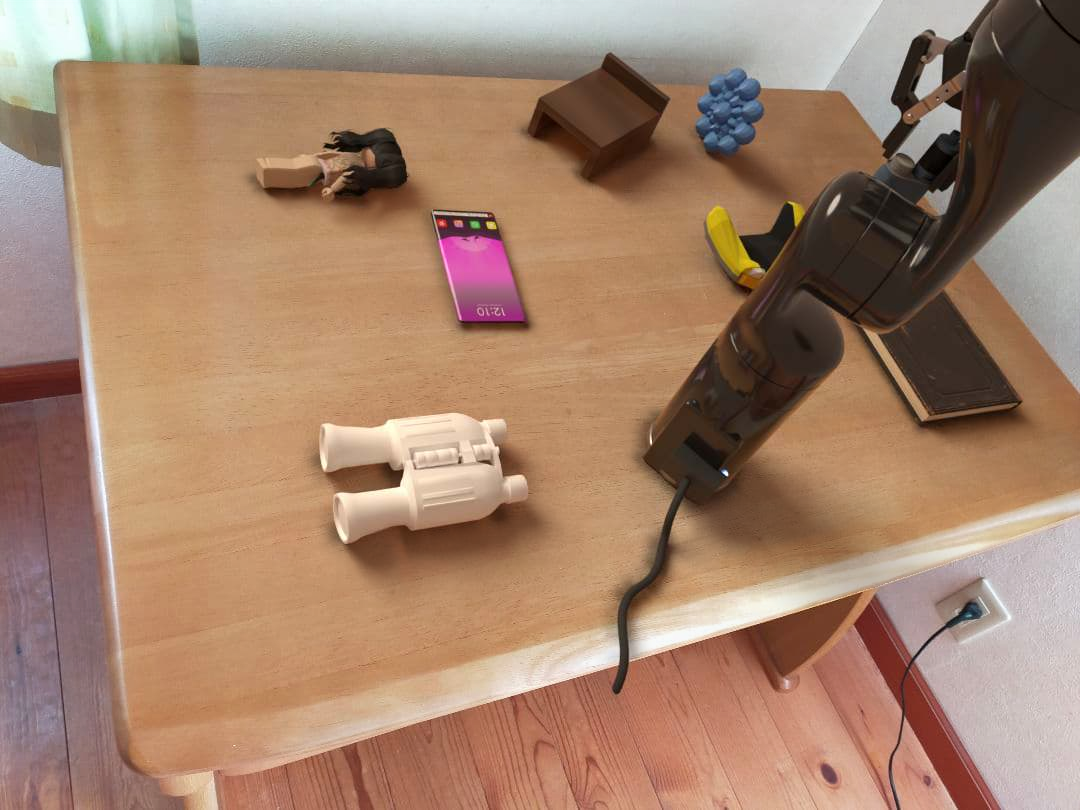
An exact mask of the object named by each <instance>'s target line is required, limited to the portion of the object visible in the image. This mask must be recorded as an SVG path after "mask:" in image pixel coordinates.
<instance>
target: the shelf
mask: <svg viewBox="0 0 1080 810" xmlns="http://www.w3.org/2000/svg"><path fill="white" fill-rule="evenodd" d="M670 101H671V97H669V95H667V94H666V93H664V91H662V90H660V89H659V88H658V87H657V86H656V85H654V84H653V83H651V82H650V81H649V80H648V79H646V78H645V77H643V75H641V74H640V73H638V72H637V71H636V70H635V69H634V68H632V67H630V66H629V65H628V64H627V63H625V62H624V60H622V59H620V58H619V57H618V56H617V55H615V54H614V53H612V52H611V51H610V52H608V53H606V54H605V56H604V58H603V61H602V63H601V66H600V67H599V68H597V69H595V70H592V71H590V72H588V73H587V74H584V75H582V76H580V77H578V78H576V79H574V80H572V81H570V82H568V83H566V84H564V85H562V86H560V87H557V88H555V89H554V90H552V91H549V92H548V93H546V94H544V95H540V96H539V97H538V99H537V102H536V105H535V108H534V111H533V113H532V116H531V118H530V121H529V124H528V127H527V129H526V132H527V133H528V134H530V135H531V136H532V137H536V136H538V135H540V134H542V133H543V132H546V131H548V130H549V129H552V128H553V127H555V126H557V125H559V126H561V127H562V128H563V129H565V130H566V131H567V132H568V133H569V134H571V135H572V136H573V137H574V138H576V139H577V140H578V141H580V142H581V143H582V144H583V145H585V146H586V147H587V148H588V149H589V150H590V152H589V153H588V156H587V158H586V159H585V163H584V165H583V167H582V169H581V171H580V176H581V177H582V178H584V179H585V180H586V181H588V180H590V179H592V178H593V177H595V176H596V175H599V174H600V173H602V172H603V171H605V170H606V169H608V168H609V167H611V166H613V165H615V164H616V163H617V162H619V161H621V160H622V159H624V158H626V157H627V156H629V155H630V154H632V153H633V152H636V151H637V150H638V149H640V148H643V146H645V145H648V144H649V142H650V139H651V137H652V136H653V134H654V132H655V130H656V128H657V126H658V124H659V122H660V120H661V118H662V116H663V115H664V113H665V110H666V108H667V106H668V104H669V102H670Z"/></svg>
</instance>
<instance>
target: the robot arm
mask: <svg viewBox="0 0 1080 810" xmlns="http://www.w3.org/2000/svg"><path fill="white" fill-rule="evenodd" d="M940 55H942V65H941V67H942V68H941V84H940V85H939V86H937V87H936V88H935V89H933V90H932V91H931V92H929V93H928V94H927V95H925V96H924V97H922V98H921V99H919V98H918V96H917V95H916V93H915V92H916V90H917V87H918V85H919V82H920V80H921V77H922V74H923V72H924V69H925V67H926V65H929V64H931V63H932V62H933V61H935V60H936V59H937V56H940ZM890 102H891V104H892V105H894V106H895V107H897V108H898V110H899V112H900V118H899V120H898V121H897V123H896V124H895V126H894V127H892V129H891V130H890V132H889V133H888V135H887V136H886V137H885V139H884V140H883V141H882V145H881V148H882V149H884V150H885V151H884V152H883V153H882V155H881V156H882V157H883V158H884V159H886V160H887V161H888V160H890V159H892V158H893V157H894V156H895V155H896V154H897V153H898V151H899V150H900V148H902V146H903V145H904V143H906V141H907V140H908V138H909V137H910V136H911V134H913V132H914V131H915V129H916V128H917V127H918V126H919V124H920V123H921V122H922V121H921V118H923V117H924V116H926V115H927V114H929V113H930V112H932V111H933V110H935V109H937V108H938V107H939V106H941V105H942V104H943V103H944V104H945V105H947V106H948V107H950V108H952V109H955V110H956V111H957V110H958V111H960V125H959V126H960V128H959V129H960V141H959V142H960V152H959V153H958V154H957V155H956V156H955V157H954V158H953V159H952V160H951V161H950V162H949V163H948V165H947V166H946V167H945V168H944V169H943V170H942V172H941V173H940V174H939V175H938V176H937V177H936V179H935V180H934V181H933V182H932V183H931V184H930V186H929V187H928V188H927V190H928V191H929V193H931V194H934V193H936V191H937V190H938V191H940V192H941V193H943V192H945V191H947V190H948V189H949V188H950V187H951V186H952V185H953V189H952V192H951V195H950V198H949V202H948V206H947V208H946V210H945V213H943V214H940V215H934V214H931V213H930V212H928V211H926V209H924V208H923V207H922V206H919V205H918V204H917V203H916V204H915V203H913V202H912V201H910V200H909V199H907V198H905V197H904V196H902V195H901V194H899V193H898V192H896V191H894V190H893V189H891V188H889V187H888V186H887V185H885V184H883V183H882V182H880V181H879V180H877V179H875V178H874V177H872V176H873V175H870V174H869V173H867V172H865V171H862V170H860V169H849V170H846V171H844V172H841V174H839V175H837V176H835V178H833V179H832V180H831V181H830V182H829V183H828V184H827V185H826V186H825V187H824V188H823V189H822V190H821V192H820V193H819V194H818V195H817V197H816V198H815V199H814V200H813V201H812V203H811V204H810V206H809V207H808V208H807V210H806V211H805V214H804V216H803V217H802V219H801V220H800V222H799V224H798V225H797V227H796V228H795V230H794V231H793V233H792V234H791V236H790V237H789V239H788V240H787V242H786V244H785V245H784V247H783V248H782V250H781V251H780V253H779V254H778V256H777V258H776V259H775V261H774V262H773V264H772V265H771V267H770V268H769V270H768V271H767V272H766V274H765V275H764V276H763V278H762V279H761V281H760V282H759V283H758V284H757V286H756V287H755V288H754V290H753V289H752V291H751V292H750V294H748V296H747V297H746V299H745V300H744V301H743V302H742V303H741V305H740V306H739V307H738V308H737V310H736V311H735V313H734V314H733V316H732V317H731V318H730V320H729V321H728V323H727V324H726V325H725V327H724V328H723V329H722V330H721V332H720V333H719V334H718V336H716V338H715V340H714V341H713V342H712V343H711V345H710V346H709V347H708V349H707V350H706V352H705V353H704V354H703V356H702V357H701V358H700V360H699V361H698V362H697V364H696V365H695V366H694V368H693V369H692V370H691V372H690V373H689V374H688V376H687V377H686V378H685V380H684V381H683V382H682V384H681V385H680V386H679V388H678V389H677V391H675V393H674V394H673V395H672V397H671V398H670V400H669V401H668V403H667V404H666V406H665V407H664V408H663V409H662V411H661V412H660V413H659V414H658V415H657V416H656V417H655V419H654V420H653V421H652V423H651V424H650V425H649V427H648V429H647V432H646V440H645V442H646V443H645V444H646V445H645V446H646V450H645V452H644V454H643V455H642V459H643V460H644V461H645V462H646V463H647V464H648V465H650V466H651V468H653V469H654V470H655V471H657V472H658V474H660V475H661V476H662V477H663V478H664V479H665V480H666V481H667V482H668V483H670V484H671V485H673V487H675V489H677V490H676V492H675V494H674V496H673V498H672V501H671V502H670V504H669V507H668V509H667V512H666V515H665V518H664V521H663V523H662V524H663V525H662V528H661V532H660V537H659V541H658V544H657V549H656V554H655V558H654V562H653V564H652V567H651V569H650V571H649V572H648V574H647V575H646V576H645V577H644V578H642V579H641V580H640V581H638V582H637V583H635V584H633V585H631V586H630V587H629V589H627V590H626V592H625V593H624V595H623V596H622V598H621V600H620V603H619V606H618V611H617V635H618V644H619V661H618V669H617V672H616V675H615V679H614V681H613V683H612V686H611V692H612V693H613V694H615V695H619V694H620V693H621V691H622V689H623V687H624V684H625V682H626V679H627V676H628V671H629V663H630V645H629V644H630V643H629V636H628V635H629V633H628V624H627V623H628V613H629V608H630V605H631V603H632V601H633V599H634V598H635V597H636V596H637V595H638V594H639V593H641V592H643V591H644V590H645V589H647V588H648V587H650V586H651V585H653V583H654V582H655V581H656V580H657V579H658V577H659V575H660V573H661V571H662V569H663V566H664V562H665V557H666V552H667V548H668V544H669V540H670V535H671V532H672V529H673V528H672V527H673V524H674V522H675V518H676V516H677V514H678V510H679V508H680V506H681V504H682V502H683V499H684V498H685V497H686V498H688V500H690V501H691V500H696V501H697V502H698V503H699V504H700V505H702V506H703V505H704V504H705V503H706V502H707V501H708V500H709V499H711V497H712V496H713V495H714V494H716V493H718V492H720V491H722V490H724V488H726V487H727V486H728V485H729V484H730V482H732V480H733V479H734V478H735V476H736V475H737V473H739V471H741V469H742V468H743V467H744V466H746V464H747V463H748V462H749V461H750V460H751V459H752V458H753V457H754V456H755V455H756V453H758V451H759V450H760V449H761V448H762V447H763V446H764V445H766V443H767V442H769V440H770V439H771V438H772V437H773V436H774V434H776V433H777V432H778V430H780V428H781V427H782V426H783V425H784V424H785V423H786V422H787V421H788V420H789V419H790V418H791V417H792V415H793V414H795V412H797V410H798V409H800V407H801V406H802V405H803V404H804V403H805V402H806V401H807V400H808V399H809V398H810V397H811V396H812V395H813V394H814V393H815V392H816V391H817V390H818V389H819V387H821V386H822V384H824V383H825V381H827V379H828V378H829V377H830V376H831V375H832V374H833V373H834V372H835V370H836V369H837V368H838V367H839V365H841V361H842V360H843V357H844V354H845V338H844V334H843V331H842V328H841V325H840V323H839V321H838V319H837V318H836V316H835V315H834V313H833V312H832V311H831V309H832V310H833V311H834V312H836V313H838V314H839V315H841V316H842V317H844V318H846V319H847V320H848V321H850V322H851V323H853V324H854V325H855V324H856V325H858V326H860V327H862V328H864V329H866V330H868V331H871V332H874V333H878V334H885V333H889V332H892V331H894V330H897V329H898V328H900V327H902V326H903V325H905V324H906V323H908V322H909V321H910V320H912V319H913V318H914V317H915V316H916V315H918V314H919V313H920V312H921V311H922V310H923V309H924V308H925V307H926V306H927V305H928V304H929V303H930V302H931V301H932V300H933V299H934V298H935V297H936V296H937V295H938V294H939V293H940V292H941V291H942V290H943V289H944V290H945V288H946V287H947V286H948V285H949V284H950V283H951V282H952V281H953V280H954V279H955V278H956V277H957V276H958V275H959V273H961V271H962V270H963V269H964V268H965V267H967V265H968V264H969V263H970V262H971V261H972V260H973V259H974V258H975V257H976V256H977V255H978V254H979V253H980V252H981V251H982V250H983V248H984V247H985V246H986V245H988V243H989V242H990V241H991V240H992V239H993V238H994V237H995V236H996V235H997V234H998V233H999V232H1000V231H1001V230H1002V229H1003V228H1004V227H1005V226H1006V225H1007V223H1009V222H1010V220H1011V219H1012V218H1014V216H1016V215H1017V214H1018V213H1019V212H1020V211H1021V210H1022V209H1023V208H1024V207H1025V206H1026V205H1027V204H1028V203H1029V202H1030V201H1032V200H1033V199H1034V198H1035V197H1036V196H1037V195H1038V194H1039V193H1041V192H1042V190H1044V189H1045V188H1046V187H1047V186H1048V185H1049V184H1051V182H1053V181H1054V180H1055V179H1056V178H1057V177H1058V176H1060V175H1061V174H1062V173H1063V172H1064V171H1065V170H1066V169H1067V168H1069V167H1070V166H1071V165H1072V164H1073V163H1074V162H1075V161H1077V159H1079V158H1080V0H988V1H987V3H986V4H985V5H984V7H983V8H982V9H981V11H980V12H979V13H978V14H977V15H976V17H975V18H974V20H973V21H972V22H971V23H970V25H969V26H968V27H967V29H966V30H965V31H964V32H963V34H961V35H959V36H956V37H955V38H953V39H952V40H949V39H946V38H943V37H939V36H937V33H936V32H935V31H934V30H933V29H925V30H924V31H922V32H921V33H920V34H918V35H917V36H915V37H914V38H913V39H911V43H910V46H909V47H908V50H907V53H906V56H905V59H904V61H903V64H902V66H901V70H900V71H899V74H898V77H897V80H896V83H895V86H894V89H893V91H892V94H891V97H890ZM928 191H927V192H928ZM856 325H855V326H856Z"/></svg>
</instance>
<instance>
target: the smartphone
mask: <svg viewBox="0 0 1080 810" xmlns="http://www.w3.org/2000/svg"><path fill="white" fill-rule="evenodd" d="M430 217H431V221H432V224H433V229H434V232H435V236H436V240H437V244H438V247H439V251H440V256H441V259H442V263H443V267H444V270H445V274H446V278H447V282H448V286H449V289H450V293H451V297H452V302H453V305H454V309H455V312H456V316H457V320H458V322H459V323H460V324H525V323H526V322H527V316H526V314H525V311H524V307H523V304H522V301H521V298H520V294H519V291H518V287H517V284H516V281H515V278H514V274H513V271H512V269H511V265H510V262H509V258H508V256H507V255H508V254H507V253H506V248H505V246H504V243H503V239H502V235H501V233H500V230H499V229H500V228H499V226H498V223H497V220H496V216H495V214H494V213H493V212H492V211H474V210H473V211H472V210H455V209H454V210H453V209H432V210H431V211H430Z"/></svg>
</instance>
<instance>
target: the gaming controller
mask: <svg viewBox="0 0 1080 810" xmlns="http://www.w3.org/2000/svg"><path fill="white" fill-rule="evenodd" d="M805 213H806V211H805V209H804V207H803V206H802V204H799V203H796V202H793V201H787V202H786V203H784V204H783V205H782V206H781V208H780V209H779V212H778V214H777V216H776V218H775V220H774V221H773V224H772V226H771V228H770V229H769V231H768V232H765V233H758V234H757V233H756V234H755V233H754V234H744V235H739V234H738V232H737V231H736V229H735V226H734V223H733V220H732V219H731V217H730V215H729V212H728V211H727V209H726V208H723V207H722V206H719V205H715V207H714V208H712V210H711V211H710V212H709V213H708V214H707V215H706V217H705V218H704V220H703V230H704V239H705V240H706V242H707V243H708V245H709V247H710V249H711V252H712V253H713V255H714V257H715V259H716V261H717V262H718V264H719V265H720V267H722V268H723V270H724V272H726V273H727V277H728V278H729V279H730V280H732V282H735V283H736V284H738V285H740V286H743V287H745V288H748V289H751V290H752V291H753V290H754V288H755V287H756V286H757V284H758V283H759V282H760V281H761V279H762V278H763V276H764V275H765V274H766V272H767V271H768V270H769V268H770V267H771V265H772V264H773V262H774V261H775V259H776V258H777V256H778V254H779V253H780V251H781V250H782V248H783V247H784V245H785V244H786V242H787V240H788V239H789V237H790V236H791V234H792V233H793V231H794V230H795V228H796V227H797V225H798V224H799V222H800V220H801V219H802V217H803V216H804V214H805Z"/></svg>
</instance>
